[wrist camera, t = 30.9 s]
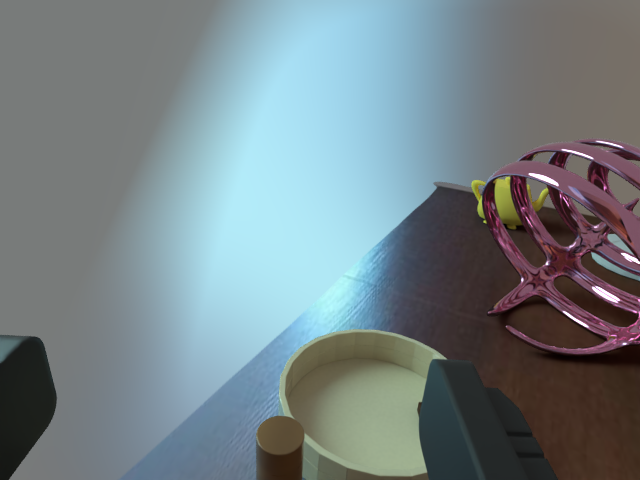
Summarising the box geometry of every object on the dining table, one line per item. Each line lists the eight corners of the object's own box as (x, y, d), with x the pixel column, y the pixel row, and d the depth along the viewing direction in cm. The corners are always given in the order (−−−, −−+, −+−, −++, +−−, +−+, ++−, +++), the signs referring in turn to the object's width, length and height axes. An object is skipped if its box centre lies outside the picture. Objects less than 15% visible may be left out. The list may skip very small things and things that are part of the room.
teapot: (546, 223, 102) (558, 180, 98) (544, 238, 93) (558, 191, 89) (469, 208, 109) (478, 167, 105) (460, 220, 100) (469, 176, 96)
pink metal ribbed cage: (513, 244, 38) (739, 73, 40) (396, 211, 65) (533, 109, 67) (628, 451, 45) (815, 298, 47) (479, 343, 72) (602, 249, 74)
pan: (249, 480, 37) (248, 442, 35) (306, 346, 54) (308, 317, 52) (479, 542, 33) (491, 503, 31) (462, 377, 50) (469, 347, 49)
